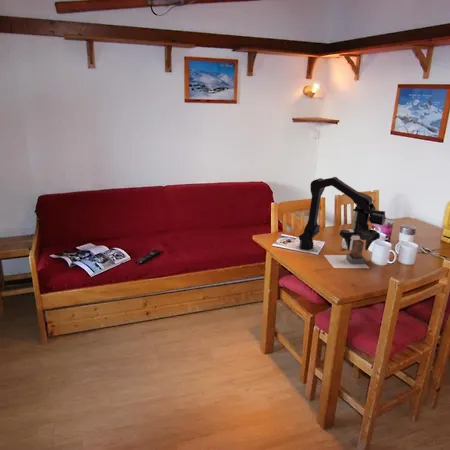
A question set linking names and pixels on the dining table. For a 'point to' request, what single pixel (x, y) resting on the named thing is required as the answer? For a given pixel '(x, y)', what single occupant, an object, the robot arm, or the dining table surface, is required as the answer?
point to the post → (357, 249)
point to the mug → (350, 241)
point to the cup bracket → (355, 259)
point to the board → (342, 262)
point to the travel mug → (354, 219)
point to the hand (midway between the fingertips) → (357, 250)
